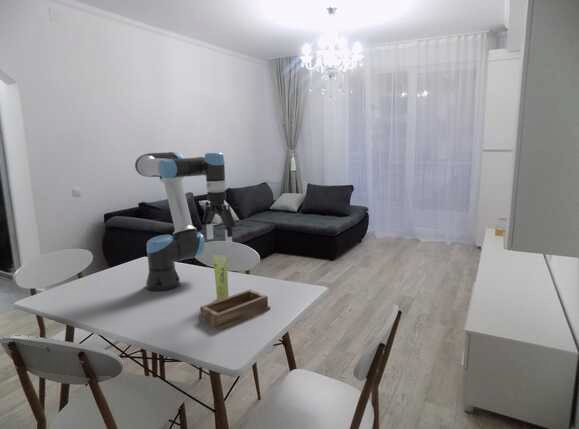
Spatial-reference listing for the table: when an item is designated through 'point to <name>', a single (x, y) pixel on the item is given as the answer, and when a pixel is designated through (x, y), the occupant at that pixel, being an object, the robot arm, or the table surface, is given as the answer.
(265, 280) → the table surface
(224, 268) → the tube
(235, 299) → the tray
